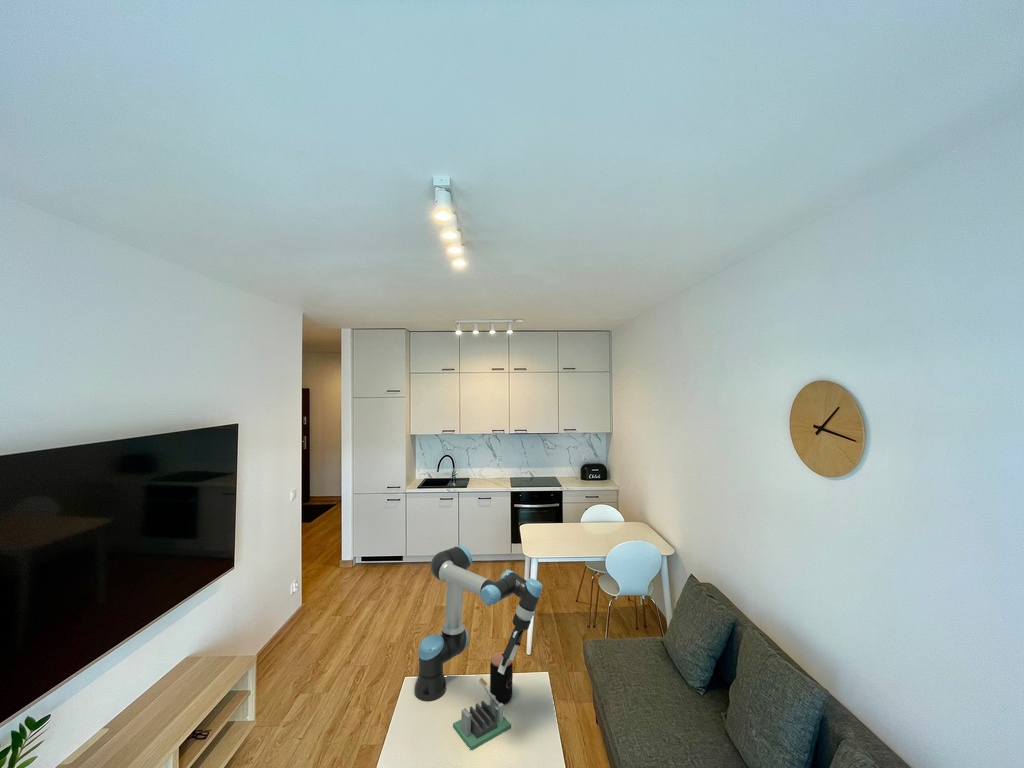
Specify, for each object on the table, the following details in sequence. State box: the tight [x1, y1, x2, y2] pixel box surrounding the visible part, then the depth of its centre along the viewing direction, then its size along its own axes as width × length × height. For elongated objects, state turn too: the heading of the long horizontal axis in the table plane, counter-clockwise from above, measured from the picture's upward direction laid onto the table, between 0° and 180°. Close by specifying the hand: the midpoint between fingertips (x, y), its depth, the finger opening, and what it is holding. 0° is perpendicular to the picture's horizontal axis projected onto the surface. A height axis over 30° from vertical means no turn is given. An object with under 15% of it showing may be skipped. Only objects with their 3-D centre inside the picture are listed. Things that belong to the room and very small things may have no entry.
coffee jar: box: [489, 651, 514, 705], centre depth 195 cm, size 11×11×18 cm
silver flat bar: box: [478, 677, 500, 707], centre depth 179 cm, size 4×15×2 cm
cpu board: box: [452, 695, 512, 751], centre depth 176 cm, size 15×20×10 cm
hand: (505, 665), depth 176 cm, fingers open, 13 cm apart
